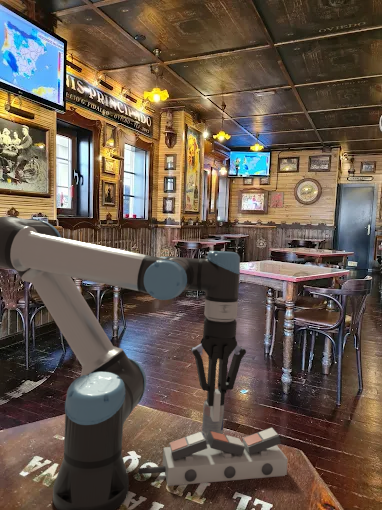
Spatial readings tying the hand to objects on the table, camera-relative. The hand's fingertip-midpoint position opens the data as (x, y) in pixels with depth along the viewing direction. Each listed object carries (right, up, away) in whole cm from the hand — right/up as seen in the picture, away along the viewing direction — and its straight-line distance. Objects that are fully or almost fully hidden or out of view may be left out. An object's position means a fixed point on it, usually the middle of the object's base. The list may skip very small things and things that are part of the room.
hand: (214, 418), depth 86 cm
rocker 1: (-6, -6, -1) cm, 8 cm away
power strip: (-1, -12, 0) cm, 12 cm away
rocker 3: (+12, -7, +3) cm, 14 cm away
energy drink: (0, -12, +10) cm, 16 cm away
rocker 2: (+3, -6, +1) cm, 7 cm away
